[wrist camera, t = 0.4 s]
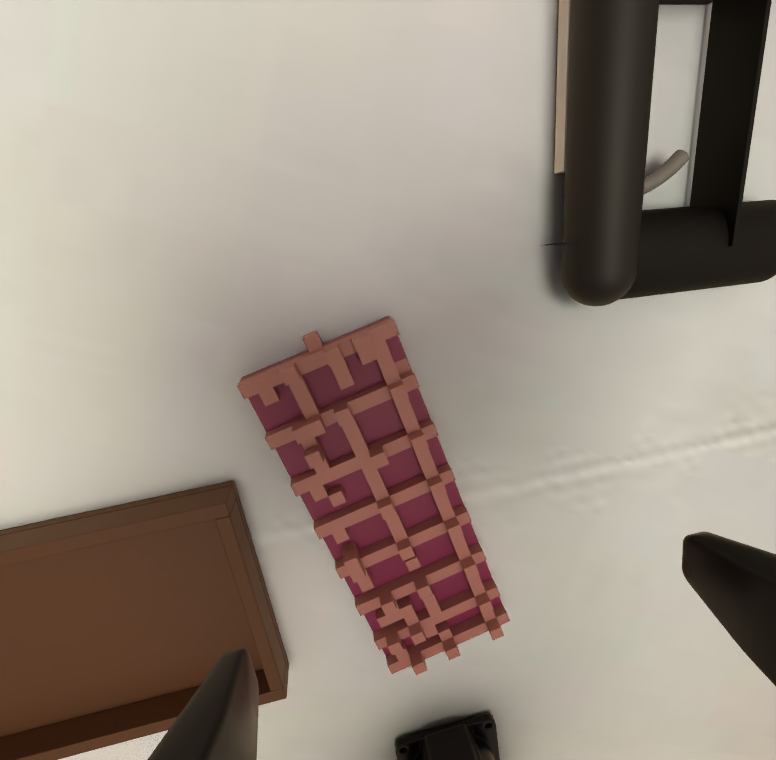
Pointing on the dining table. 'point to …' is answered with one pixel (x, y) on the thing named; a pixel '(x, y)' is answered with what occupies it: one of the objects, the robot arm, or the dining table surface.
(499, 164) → the dining table surface
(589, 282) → the door handle
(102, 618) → the tray
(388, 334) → the pink flat grid slab
